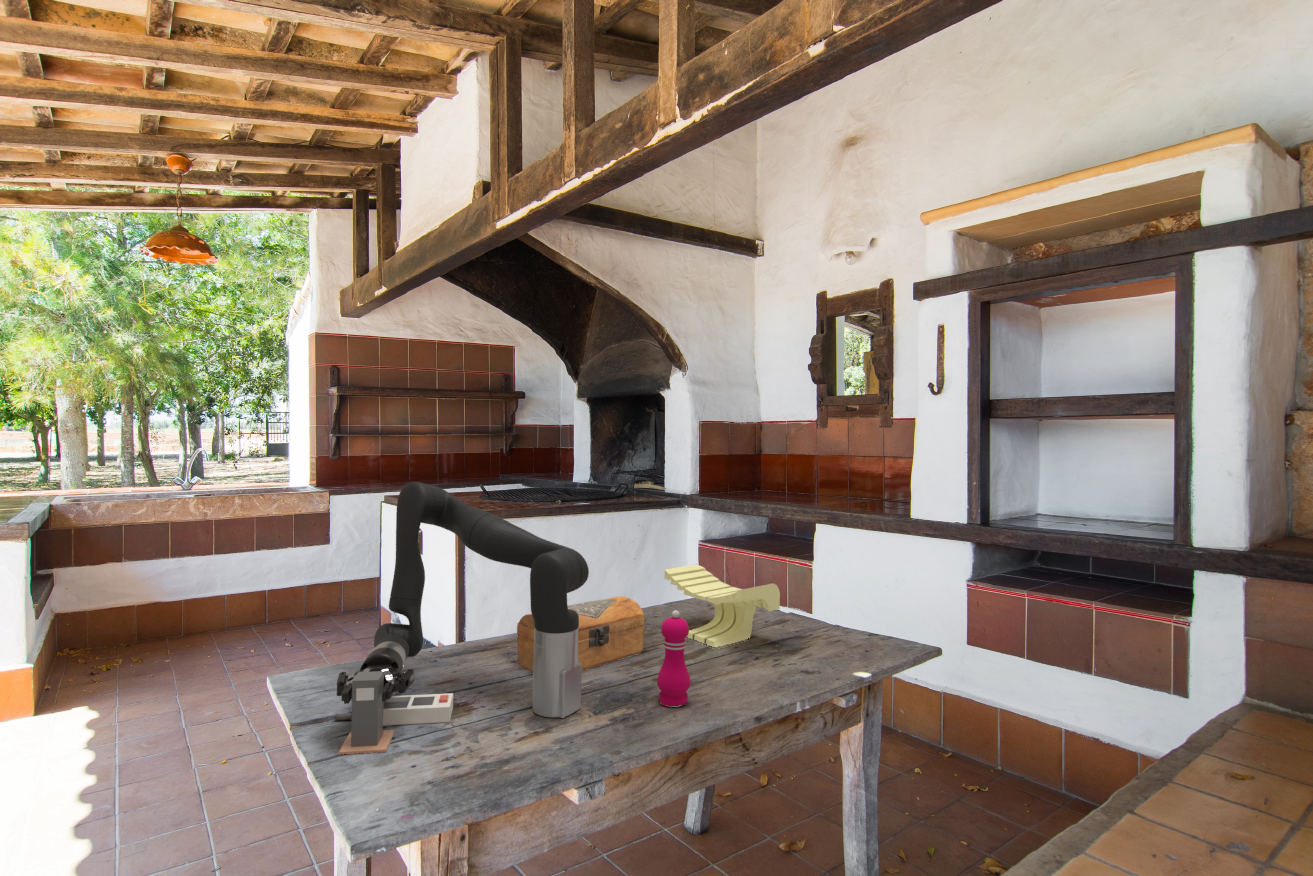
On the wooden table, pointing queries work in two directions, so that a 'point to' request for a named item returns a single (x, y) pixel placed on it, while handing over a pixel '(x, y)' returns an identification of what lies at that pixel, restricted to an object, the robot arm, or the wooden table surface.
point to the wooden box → (595, 632)
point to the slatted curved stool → (723, 604)
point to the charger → (367, 708)
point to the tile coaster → (380, 747)
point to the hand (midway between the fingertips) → (365, 697)
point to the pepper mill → (674, 662)
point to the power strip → (414, 709)
